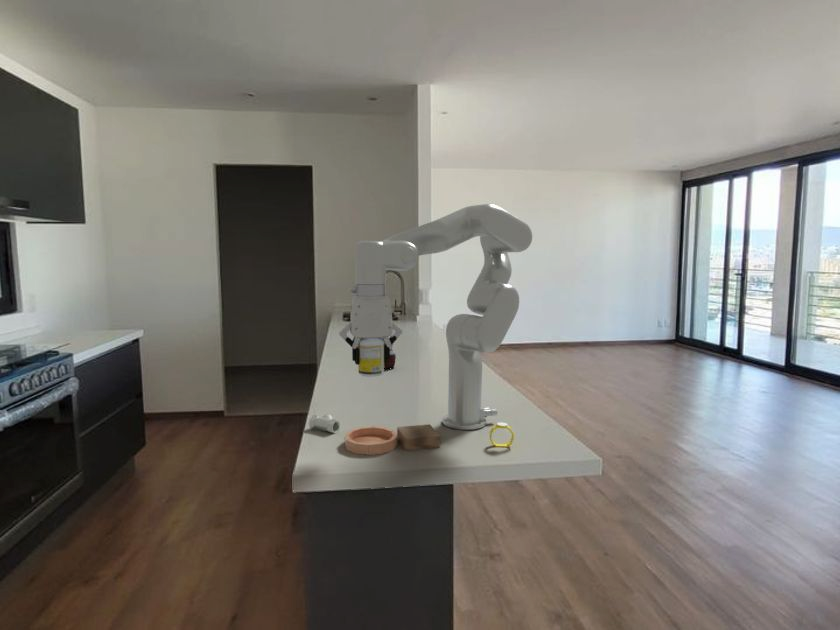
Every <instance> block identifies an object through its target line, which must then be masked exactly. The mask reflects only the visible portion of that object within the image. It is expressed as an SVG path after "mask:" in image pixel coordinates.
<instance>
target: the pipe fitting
mask: <svg viewBox="0 0 840 630" xmlns="http://www.w3.org/2000/svg"><path fill="white" fill-rule="evenodd" d="M308 423H309V424H308V426H309V428H311V429H313V430H320V431H324V432H328V433H332V434H336V433H338V432H339V431H340V427H341V425H340V424H341V422H340V421H339V420H338V419H335V418H334V417H333V416H332V415H331V414H328V413H327V414H324V415H323V416H322V417H321V416H318V415H314V414H313V415H312V416H311V417H310V419H309V422H308Z"/></svg>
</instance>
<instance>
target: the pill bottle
mask: <svg viewBox="0 0 840 630" xmlns="http://www.w3.org/2000/svg"><path fill="white" fill-rule="evenodd" d="M358 349H359V364H358V374H359V375H360V376H362V377H366V378H367V377H369V378H370V377H379V376H383V375H384V374H385V370H384V340H383V339H382V338H361V339H360V342H359V344H358Z"/></svg>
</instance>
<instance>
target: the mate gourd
mask: <svg viewBox="0 0 840 630" xmlns="http://www.w3.org/2000/svg"><path fill="white" fill-rule="evenodd" d="M393 345H394V343H393V344H392V345H391V347H390V359H388V363H384V368H385V369H384V371H387V370H389V369H388V368H391V369H390V370H394V369H395V364H396V358H397V357H396V352H395V351H394V349H393ZM393 368H394V369H393Z"/></svg>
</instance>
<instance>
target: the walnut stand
mask: <svg viewBox="0 0 840 630" xmlns="http://www.w3.org/2000/svg"><path fill="white" fill-rule="evenodd" d="M396 434H397V441H398V442H399V443H400V445H401V446H402V448H403V450H404V451H405V452H406V451H415V450H423V449H424V450H427V449H435V448H437V449H438V448H440V447H441V435H440V434H439V433H438V432H437V430H435V429H434V427H433V426H432V425H431V424H430V423H429V424H420V425H419V424H415V425H407V426H406V425H405V426H397V427H396Z"/></svg>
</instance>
